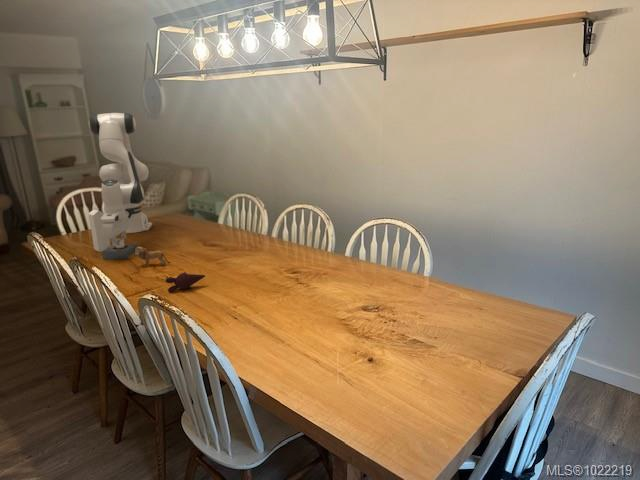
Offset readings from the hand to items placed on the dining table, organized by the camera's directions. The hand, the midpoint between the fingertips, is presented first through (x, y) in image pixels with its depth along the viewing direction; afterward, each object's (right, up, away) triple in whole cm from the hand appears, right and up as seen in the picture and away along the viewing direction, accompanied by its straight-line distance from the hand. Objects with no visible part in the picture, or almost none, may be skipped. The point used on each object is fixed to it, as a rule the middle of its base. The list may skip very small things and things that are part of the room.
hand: (119, 242), depth 220 cm
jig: (0, -6, +1) cm, 6 cm away
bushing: (0, -6, +1) cm, 6 cm away
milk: (-14, -4, +11) cm, 18 cm away
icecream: (+44, -18, -41) cm, 63 cm away
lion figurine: (+21, -11, -14) cm, 27 cm away
